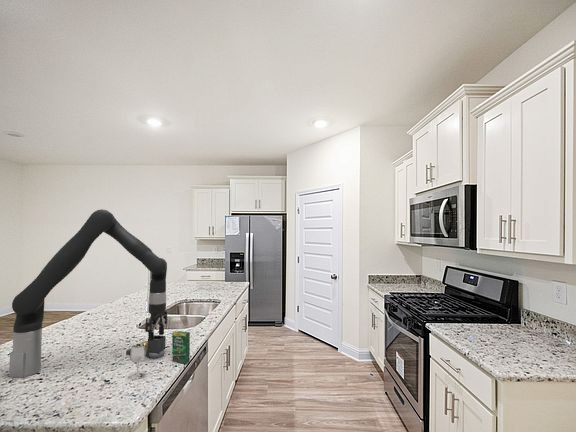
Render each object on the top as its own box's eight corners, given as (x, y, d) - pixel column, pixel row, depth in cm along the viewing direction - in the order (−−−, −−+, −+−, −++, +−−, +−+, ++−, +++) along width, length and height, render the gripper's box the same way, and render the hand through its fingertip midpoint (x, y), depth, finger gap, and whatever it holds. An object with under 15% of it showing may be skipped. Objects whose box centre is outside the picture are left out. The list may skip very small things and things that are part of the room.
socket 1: (146, 352, 155) (146, 344, 155) (138, 352, 156) (138, 343, 156) (151, 349, 159) (151, 341, 159) (143, 349, 160) (143, 340, 160)
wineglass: (141, 371, 135) (141, 342, 135) (148, 375, 131) (148, 345, 132) (126, 376, 130) (127, 346, 131) (133, 381, 127) (134, 349, 127)
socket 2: (158, 353, 148) (158, 339, 148) (147, 352, 149) (147, 339, 149) (165, 348, 154) (165, 335, 154) (154, 348, 154) (154, 335, 155)
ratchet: (159, 359, 148) (159, 344, 148) (123, 356, 150) (123, 342, 151) (166, 354, 154) (166, 339, 154) (132, 351, 157) (132, 337, 157)
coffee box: (171, 361, 145) (171, 331, 146) (175, 359, 148) (176, 329, 148) (185, 364, 142) (186, 334, 142) (190, 362, 145) (190, 332, 145)
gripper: (156, 305, 144) (155, 343, 144) (172, 299, 158) (171, 333, 158) (140, 304, 146) (139, 342, 145) (158, 298, 160) (157, 332, 159)
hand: (156, 337), depth 151 cm, fingers open, 8 cm apart
